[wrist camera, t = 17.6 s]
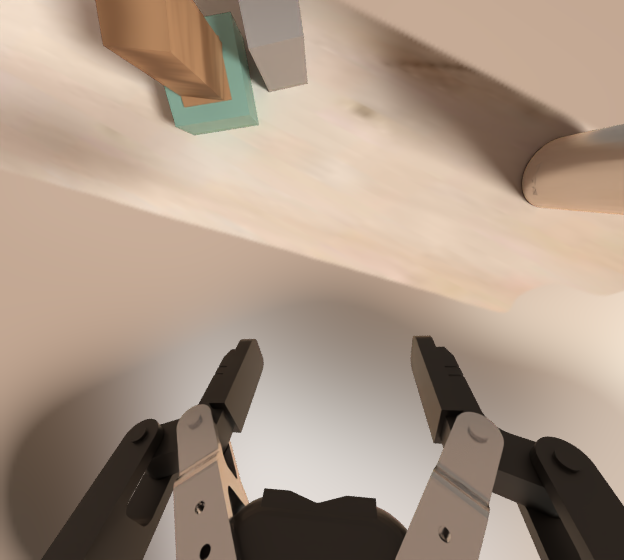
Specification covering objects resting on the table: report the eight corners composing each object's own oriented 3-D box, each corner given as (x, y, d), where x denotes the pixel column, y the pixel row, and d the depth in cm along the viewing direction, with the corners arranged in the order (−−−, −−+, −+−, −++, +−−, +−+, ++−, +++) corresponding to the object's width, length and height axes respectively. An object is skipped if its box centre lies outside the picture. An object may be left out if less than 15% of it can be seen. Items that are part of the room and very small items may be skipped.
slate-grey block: (300, 32, 28) (291, -45, 19) (307, 83, 30) (303, 35, 21) (259, 42, 28) (232, -29, 19) (269, 92, 30) (248, 48, 21)
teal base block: (243, 40, 29) (229, 10, 24) (259, 125, 32) (249, 114, 27) (173, 53, 29) (145, 26, 24) (195, 135, 32) (174, 126, 28)
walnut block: (222, 43, 25) (161, -46, 15) (224, 100, 27) (170, 52, 17) (175, 38, 25) (86, -53, 15) (180, 95, 27) (103, 45, 17)
